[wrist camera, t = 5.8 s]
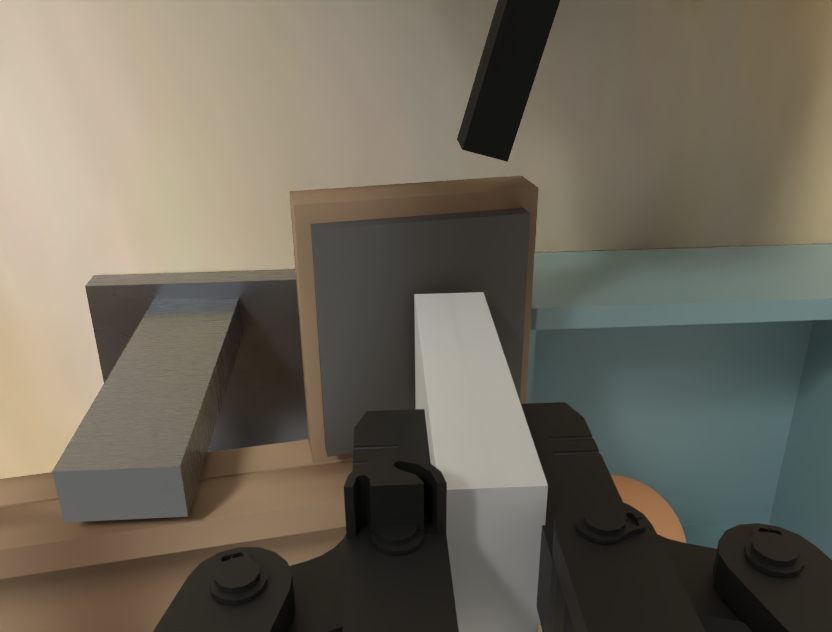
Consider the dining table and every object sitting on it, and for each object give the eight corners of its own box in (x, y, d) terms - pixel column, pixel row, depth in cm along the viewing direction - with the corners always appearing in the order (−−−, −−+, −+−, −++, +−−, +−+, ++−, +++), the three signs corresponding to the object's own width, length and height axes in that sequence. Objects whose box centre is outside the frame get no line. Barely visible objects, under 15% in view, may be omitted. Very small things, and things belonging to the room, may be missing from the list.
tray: (480, 538, 28) (509, 680, 22) (489, 253, 24) (528, 345, 18) (774, 524, 29) (872, 659, 23) (837, 243, 24) (976, 328, 19)
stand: (145, 548, 27) (53, 805, 19) (93, 275, 23) (-53, 454, 15) (322, 539, 28) (306, 788, 19) (302, 269, 23) (272, 440, 15)
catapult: (-354, 748, 18) (-492, 940, 15) (-650, 254, 13) (-967, 365, 10) (501, 597, 22) (555, 719, 19) (522, 176, 17) (600, 233, 14)
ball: (666, 562, 22) (533, 550, 22) (683, 451, 20) (541, 441, 21) (688, 668, 19) (532, 652, 19) (711, 546, 17) (540, 532, 18)
